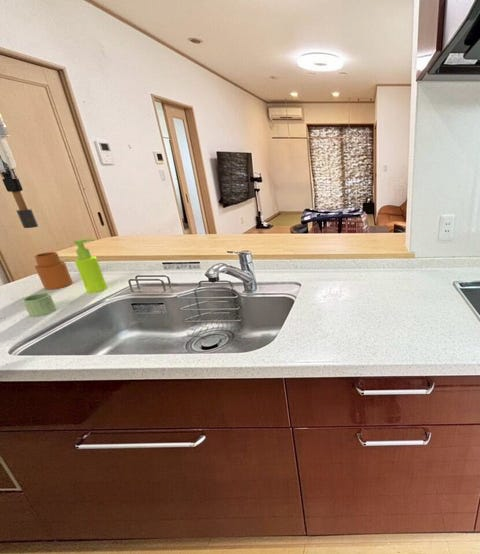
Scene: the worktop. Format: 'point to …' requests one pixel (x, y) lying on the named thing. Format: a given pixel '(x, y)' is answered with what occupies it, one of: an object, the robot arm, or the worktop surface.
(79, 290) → the worktop surface
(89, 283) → the soap dispenser
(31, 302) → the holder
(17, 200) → the brush
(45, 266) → the orange brown jar
